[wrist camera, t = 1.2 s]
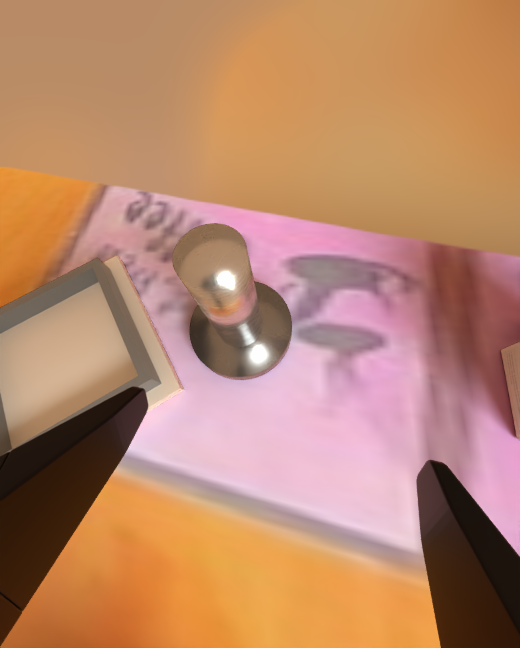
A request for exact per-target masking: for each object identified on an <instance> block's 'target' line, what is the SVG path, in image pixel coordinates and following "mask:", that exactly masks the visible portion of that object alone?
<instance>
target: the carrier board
mask: <svg viewBox="0 0 520 648" xmlns="http://www.w3.org/2000/svg"><path fill="white" fill-rule="evenodd" d="M132 386H136V387H140V388H144V389H145V391H146V395H147V400H148V410H147V412H148V411H150V410H152V409H153V408H155V407H157V406H158V405H160V404H162V403H163V402H165V401H167V400H168V399H170V398H172V397H173V396H175V395H177V394H178V393H180V392H182V391H183V390H184V389H183V387H182V385H181V382H180V380H179V378H178V376H177V374H176V372H175V370H174V368H173V366H172V364H171V362H170V360H169V357H168V355H167V353H166V351H165V349H164V347H163V345H162V343H161V341H160V339H159V337H158V334H157V332H156V330H155V328H154V326H153V324H152V322H151V320H150V318H149V316H148V314H147V312H146V309H145V307H144V305H143V303H142V301H141V299H140V297H139V295H138V293H137V291H136V289H135V286H134V284H133V282H132V280H131V278H130V276H129V274H128V272H127V270H126V268H125V266H124V264H123V261H122V260H121V259H120V258H119V257H118V256H117V255H116V256H114V257H112V258H111V259H109V260H107V261H105V262H102V261H101V260H100V259H99V258H96V259H94V260H92V261H90V262H88V263H86V264H84V265H82V266H80V267H78V268H76V269H74V270H73V271H71V272H69V273H67V274H65V275H63V276H61V277H59V278H57V279H55V280H53V281H51V282H49V283H47V284H45V285H43V286H41V287H40V288H38V289H36V290H34V291H32V292H30V293H28V294H26V295H24V296H22V297H20V298H18V299H16V300H14V301H12V302H10V303H8V304H6V305H5V306H3V307H1V308H0V456H1V455H3V454H5V453H7V452H10V451H11V450H13V449H15V448H16V447H18V446H20V445H22V444H24V443H26V442H28V441H30V440H31V439H33V438H35V437H37V436H39V435H41V434H43V433H45V432H47V431H48V430H50V429H52V428H54V427H56V426H58V425H60V424H62V423H64V422H65V421H67V420H69V419H71V418H73V417H75V416H77V415H79V414H81V413H82V412H84V411H86V410H88V409H90V408H92V407H94V406H96V405H97V404H99V403H101V402H103V401H105V400H107V399H109V398H111V397H113V396H114V395H116V394H118V393H120V392H122V391H124V390H126V389H128V388H130V387H132Z"/></svg>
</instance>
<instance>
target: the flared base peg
mask: <svg viewBox="0 0 520 648" xmlns="http://www.w3.org/2000/svg"><path fill="white" fill-rule="evenodd" d="M173 266H174V269H175V271H176V273H177V275H178V276H179V278H180V279H181V280H182V282H183V283H184V285H185V286H186V288H187V289H188V291H189V292H190V294H191V295H192V297H193V298H194V299H195V301H196V302H197V304H198V305H197V307H196V309H195V311H194V313H193V315H192V319H191V323H190V340H191V344H192V347H193V349H194V351H195V353H196V355H197V356H198V358H199V359H200V360H201V361H202V362H203V363H204V364H205V365H206V366H207V367H208V368H209V369H211V370H212V371H213V372H215V373H216V374H218V375H220V376H222V377H226V378H229V379H235V380H246V379H252V378H256V377H259V376H261V375H263V374H265V373H267V372H269V371H270V370H272V369H273V368H274V367H275V366H276V365H277V364H279V362H280V361H281V360H282V359H283V357H284V356H285V354H286V352H287V350H288V348H289V345H290V341H291V334H292V321H291V315H290V311H289V309H288V307H287V304H286V303H285V301H284V300H283V298H282V297H281V296H280V295H279V294H278V293H277V292H276V291H275V290H273V289H272V288H270V287H268V286H267V285H265V284H262V283H259V282H255V281H254V279H253V274H252V270H251V265H250V261H249V256H248V251H247V247H246V243H245V240H244V238H243V237H242V235H241V234H240V233H239V232H238V231H237V230H235V229H234V228H232V227H230V226H227V225H224V224H216V223H214V224H205V225H201V226H198V227H196V228H194V229H192V230H190V231H189V232H187V233H186V234H185V235H184V236H183V237H182V238H181V239H180V240H179V242H178V243H177V245H176V247H175V249H174V252H173Z"/></svg>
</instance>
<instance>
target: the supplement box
mask: <svg viewBox="0 0 520 648" xmlns="http://www.w3.org/2000/svg"><path fill="white" fill-rule="evenodd" d="M501 354H502V359H503V364H504V370H505V375H506V380H507V386H508V391H509V397H510V402H511V408H512V413H513V419H514V425H515V430H516V436H517V439H518V440H520V342H518V343H515V344H513V345H511V346H509V347H506V348H504V349H502V350H501Z"/></svg>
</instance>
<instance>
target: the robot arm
mask: <svg viewBox="0 0 520 648" xmlns="http://www.w3.org/2000/svg"><path fill="white" fill-rule="evenodd" d="M147 410H148V400H147V395H146V391H145V389H144V388H140V387H136V386H132V387H130V388H128V389H126V390H124V391H122V392H120V393H118V394H116V395H114V396H113V397H111V398H109V399H107V400H105V401H103V402H101V403H99V404H97V405H96V406H94V407H92V408H90V409H88V410H86V411H84V412H82V413H81V414H79V415H77V416H75V417H73V418H71V419H69V420H67V421H65V422H64V423H62V424H60V425H58V426H56V427H54V428H52V429H50V430H48V431H47V432H45V433H43V434H41V435H39V436H37V437H35V438H33V439H31V440H30V441H28V442H26V443H24V444H22V445H20V446H18V447H16V448H15V449H13V450H11V451H10V452H7V453H5V454H3V455H1V456H0V646H1V645H2V643H3V641H4V640H5V638H6V637H7V635H8V634H9V632H10V631H11V629H12V628H13V626H14V624H15V623H16V621H17V620H18V618H19V617H20V615H21V614H22V611H23V610H24V609H25V607H26V606H27V604H28V603H29V601H30V599H31V598H32V596H33V595H34V593H35V592H36V590H37V589H38V587H39V586H40V584H41V583H42V581H43V579H44V578H45V576H46V575H47V573H48V572H49V570H50V569H51V567H52V566H53V564H54V563H55V561H56V559H57V558H58V556H59V555H60V553H61V552H62V550H63V549H64V547H65V546H66V544H67V542H68V541H69V539H70V538H71V536H72V535H73V533H74V532H75V530H76V529H77V527H78V526H79V524H80V522H81V521H82V519H83V518H84V516H85V515H86V513H87V512H88V510H89V509H90V507H91V506H92V504H93V502H94V501H95V499H96V498H97V496H98V495H99V493H100V492H101V490H102V489H103V487H104V485H105V484H106V482H107V481H108V479H109V478H110V476H111V475H112V473H113V472H114V470H115V469H116V467H117V465H118V464H119V462H120V461H121V459H122V458H123V456H124V454H125V453H126V451H127V449H128V447H129V445H130V443H131V442H132V440H133V438H134V436H135V434H136V432H137V430H138V428H139V426H140V424H141V422H142V420H143V418H144V416H145V415H146V413H147ZM417 495H418V507H419V520H420V532H421V541H422V548H423V554H424V559H425V564H426V570H427V575H428V581H429V586H430V591H431V597H432V602H433V608H434V613H435V619H436V624H437V629H438V635H439V640H440V646H441V648H520V556H519V555H518V554H517V553H516V551H515V550H514V549H513V548H512V546H511V545H510V544H509V543H508V541H507V540H506V539H505V538H504V536H503V535H502V534H501V533H500V531H499V530H498V529H497V528H496V526H495V525H494V524H493V523H492V521H491V520H490V519H489V518H488V516H487V515H486V514H485V513H484V511H483V510H482V509H481V508H480V506H479V505H478V504H477V503H476V501H475V500H474V499H473V498H472V496H471V495H470V494H469V493H468V491H467V490H466V489H465V488H464V486H463V485H462V484H461V483H460V481H459V480H458V479H457V478H456V476H455V475H454V474H453V473H452V471H451V470H450V469H449V468H448V466H447V465H446V464H444V463H442V462H438V461H434V460H428V461H427V462H426V463H425V465H424V466H423V468H422V469H421V471H420V472H419V474H418V476H417Z"/></svg>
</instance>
